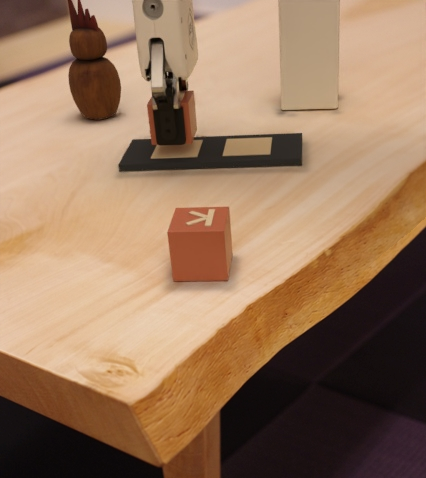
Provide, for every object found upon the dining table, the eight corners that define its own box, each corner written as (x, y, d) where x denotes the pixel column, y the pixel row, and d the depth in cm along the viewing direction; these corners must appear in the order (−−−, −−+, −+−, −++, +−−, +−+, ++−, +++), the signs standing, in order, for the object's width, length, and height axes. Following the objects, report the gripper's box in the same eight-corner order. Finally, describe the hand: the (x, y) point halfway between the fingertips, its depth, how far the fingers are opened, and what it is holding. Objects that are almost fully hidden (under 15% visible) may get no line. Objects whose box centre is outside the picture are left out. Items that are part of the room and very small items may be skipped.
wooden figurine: (68, 116, 100) (46, -3, 92) (104, 105, 103) (85, -11, 95) (95, 126, 96) (74, 2, 87) (131, 115, 98) (114, -7, 90)
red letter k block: (232, 254, 64) (229, 204, 61) (228, 280, 60) (224, 229, 57) (180, 255, 64) (175, 206, 62) (173, 281, 60) (166, 230, 58)
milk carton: (337, 109, 94) (339, -58, 83) (281, 111, 95) (276, -54, 85) (338, 93, 100) (340, -66, 89) (285, 94, 101) (281, -62, 91)
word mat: (302, 139, 86) (302, 131, 85) (301, 165, 79) (301, 157, 79) (133, 145, 88) (132, 138, 88) (119, 171, 82) (117, 163, 81)
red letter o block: (197, 129, 85) (193, 89, 82) (192, 143, 81) (188, 101, 78) (158, 131, 85) (153, 91, 83) (151, 145, 82) (146, 103, 79)
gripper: (182, -33, 66) (199, 163, 76) (204, -58, 80) (216, 110, 90) (99, -28, 67) (127, 165, 77) (135, -53, 81) (155, 113, 91)
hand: (175, 134), depth 83 cm, fingers closed on red letter o block, 4 cm apart
